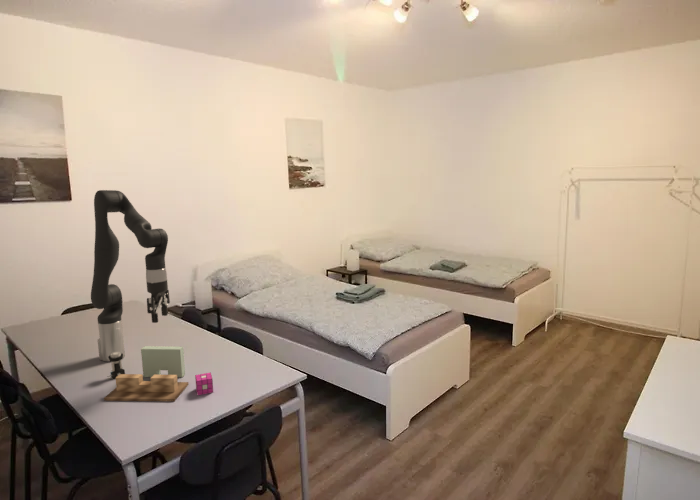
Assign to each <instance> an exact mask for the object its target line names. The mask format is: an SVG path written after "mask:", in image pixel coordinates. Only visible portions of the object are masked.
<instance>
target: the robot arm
mask: <svg viewBox="0 0 700 500" xmlns="http://www.w3.org/2000/svg"><path fill="white" fill-rule="evenodd" d="M93 209H94V221H95V222H94V225H95V226H94V227H95V228H94V229H95V231H94V233H95V234H94V249H93V250H94V252H93V253H94V254H93V256H94V257H93V258H94V262H93V263H94V264H93V276H92V284H91V291H90V302H91V304H92V306H93V307H94V309H97V310H102V309H103V310H102V311H101V313H100V314H99V315H97V326H98V337H99V338H98V339H97V348H98V357H99V361H103V362H110V360H109V358H108V357H109V356H110V355H111V353H113V352H120V353H122V354H123V358H125V356H126V355H125V354H126V353H125V344H124V333H123V320H122V315H123V310H124V309H123V307H124V306H123V294H122V291H121V289H120V288H119V286H118V285H117V284H112V283H109V282H110V278H111V275H112V273H113V272H114V269H115V267H116V265H117V264H118V261H119V256H120V242H119V239H118V237H117V236H116V234H115V233H114V231H113V230H112V228H111V227H110V225H109V219H108V213H121V214H122V215H124V216H123V221H124V225H125V226H126V228H127V229H128V230H129V231H130V232H132V234H134V236H135V238H136V240H137V242H138V245H140V247H142V248H144V249H151V248H154V250H153V251H152V252H150V253H147V254H146V255H145V256H144V257H145V258H144V260H145V261H144V262H145V280H146V291H147V293H149V294H150V297H147V298H146V308H147V309H146V310H147V314H150V315H151V316H150V317H151V323H153V324H157V323H158V322H159V314H158V311H159V309H160V310H161V316H163V317H166V316H168V314H169V313H168V312H169V311H168V306H169V304H170V302H171V301H170V290H169V288H168V287H169V285H168V273H167V269H166V258H165V257H166V253H167V247H168V243H169V242H168V241H169V235H168V233H167V231H166V230H165V229H163V228H152V225H151V223H150V222H149V221H148V220H147V219H146V218H145V217H143V215H141V214H140V213H139V212H138V211H137V209H136V208H135V207H134V205H133V203H132V202H131V200H130V199H129V198H128V197H127V196H126V195H125V193H123V192H122V191H120V190H117V189H116V190H115V189H114V190H113V189H112V190H111V189H109V190H107V189H105V190H104V189H102V190H101V189H100V190H97V191H96V192H95V194H94V199H93Z"/></svg>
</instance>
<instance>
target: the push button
mask: <svg viewBox="0 0 700 500" xmlns="http://www.w3.org/2000/svg"><path fill="white" fill-rule="evenodd" d="M108 358H109V360H110V361H109V362H110V363H111V371H110V372H109V373H110V375H108V376H106V377H107V380H111V379H112V380H116V377H117V376H118V375H119V374H126V373H125V369H124V368H123V366H122V364H123V363H122V360H123V359H124V357H123V354H122V353H120V352H113V353H111V355H110V356H109V357H108Z"/></svg>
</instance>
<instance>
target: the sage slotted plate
mask: <svg viewBox="0 0 700 500" xmlns="http://www.w3.org/2000/svg"><path fill="white" fill-rule="evenodd" d="M140 353H141V363H142V364H141V365H142V374H143V378H151V377H152V376H153V375H154V374H155V375H162V374H161V372H162V371H167V375H177V378H184V376H185V375H186V367H185V355H184V354H185V351H184V346H175V345H174V346H172V345H171V346H166V345H165V346H164V345H163V346H161V345H158V346H156V345H154V346H153V345H145V346H143V347H142V348H141V349H140Z"/></svg>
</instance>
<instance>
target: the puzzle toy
mask: <svg viewBox="0 0 700 500" xmlns="http://www.w3.org/2000/svg"><path fill="white" fill-rule="evenodd" d="M194 378H195V390H196V391H195V392H196V394H197V396H200V395H206V394H207V395H208V394H211V393H214V384H213V382H214V381H213V377H212V373H211V372H205V373H200V374H196V375H195V376H194Z"/></svg>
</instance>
